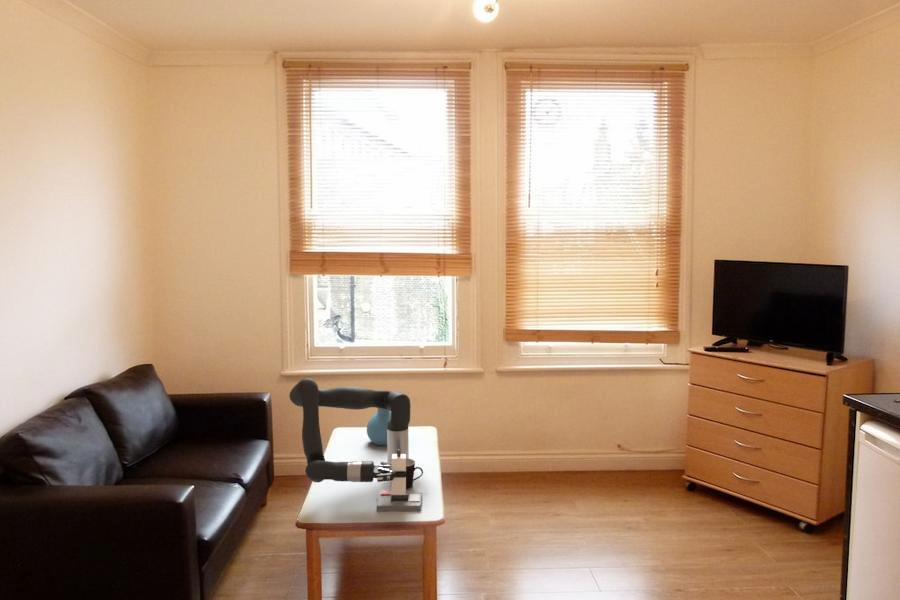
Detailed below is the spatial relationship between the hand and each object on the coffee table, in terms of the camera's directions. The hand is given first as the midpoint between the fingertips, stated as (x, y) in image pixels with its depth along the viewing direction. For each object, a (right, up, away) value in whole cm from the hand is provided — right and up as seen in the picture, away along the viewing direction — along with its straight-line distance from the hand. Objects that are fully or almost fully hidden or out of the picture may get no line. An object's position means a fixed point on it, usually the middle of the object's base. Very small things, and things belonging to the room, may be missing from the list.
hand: (406, 471), depth 229 cm
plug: (-3, -8, +1) cm, 8 cm away
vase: (-16, -5, +70) cm, 72 cm away
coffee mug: (-1, -11, +16) cm, 20 cm away
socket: (-2, -12, +1) cm, 13 cm away
